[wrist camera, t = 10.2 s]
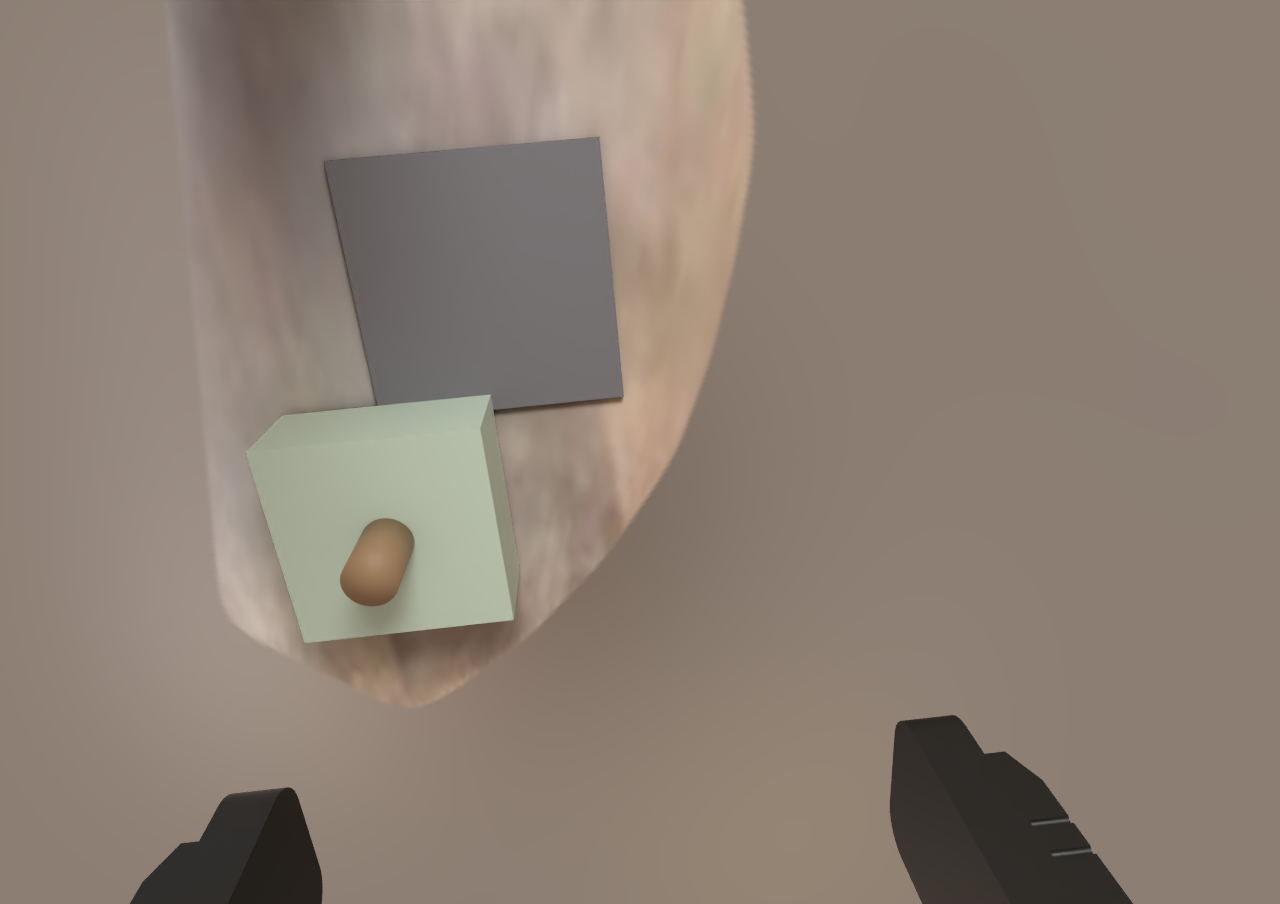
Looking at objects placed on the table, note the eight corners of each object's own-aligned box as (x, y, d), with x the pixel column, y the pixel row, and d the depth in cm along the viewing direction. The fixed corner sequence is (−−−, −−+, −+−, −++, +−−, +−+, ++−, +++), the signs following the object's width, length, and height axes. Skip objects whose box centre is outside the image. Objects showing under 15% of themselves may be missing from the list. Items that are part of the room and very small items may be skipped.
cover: (281, 415, 44) (210, 486, 35) (490, 394, 44) (470, 460, 35) (331, 590, 48) (279, 691, 40) (520, 570, 49) (508, 665, 40)
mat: (326, 160, 39) (323, 160, 39) (598, 136, 40) (599, 136, 40) (382, 419, 44) (380, 421, 44) (623, 394, 45) (623, 396, 45)
